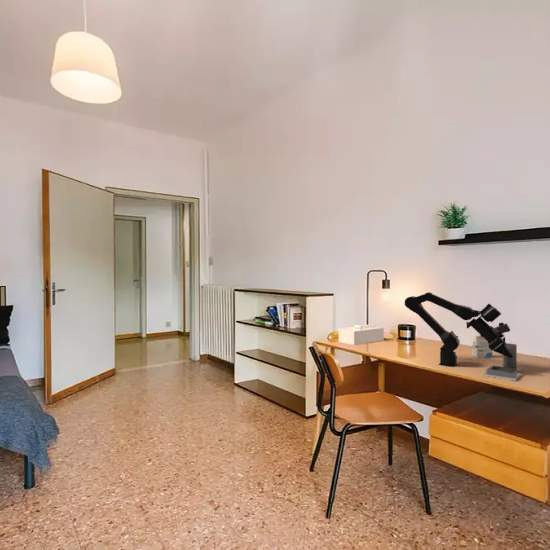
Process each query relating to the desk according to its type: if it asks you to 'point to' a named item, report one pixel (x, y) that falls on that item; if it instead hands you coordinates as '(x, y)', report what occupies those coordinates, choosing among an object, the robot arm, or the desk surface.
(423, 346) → the desk surface
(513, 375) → the square tray
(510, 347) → the grey domed cylinder
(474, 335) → the ink box
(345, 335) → the tissue box
